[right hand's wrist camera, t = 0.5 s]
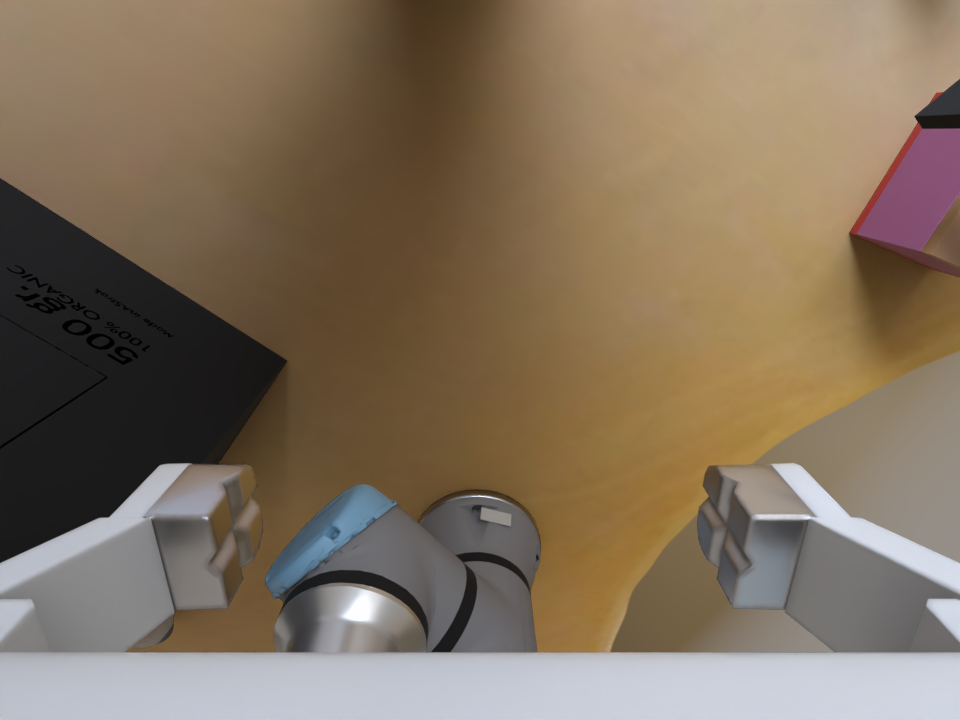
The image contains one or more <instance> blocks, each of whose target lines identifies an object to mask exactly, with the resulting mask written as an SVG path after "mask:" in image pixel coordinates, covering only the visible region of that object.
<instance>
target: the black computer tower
mask: <svg viewBox="0 0 960 720" xmlns="http://www.w3.org/2000/svg"><path fill="white" fill-rule="evenodd" d="M34 277H37V278H34ZM46 283H48V285H46ZM50 285H51V287H49V286H50ZM53 289H54V290H53ZM57 291H58V292H57ZM18 294H19V297H17V295H18ZM65 295H66V296H67V297H66V296H65ZM23 296H25V298H27V297H32V298H30V299H27V300H28V301H26V299H25V298H24V300H22V299H23V298H22V297H23ZM56 297H57V298H56ZM68 297H71V298H72V299H70V298H68ZM49 298H52V299H55V300H57V301H59V300H58V299H60V300H62V301H64V303H63V302H62V301H59V303H57V301H53V300H52V299H51V300H49ZM73 300H74V302H73ZM77 302H78V303H77ZM37 303H39V305H38V306H39V307H37V309H36V308H35V307H36V305H37ZM79 303H80V304H79ZM62 304H63V307H61V305H62ZM64 305H65V306H66V309H65V310H64ZM46 306H47V307H49V308H48V309H47V307H46ZM82 306H85V308H83V307H82ZM78 308H80V309H81V310H80V309H78ZM76 309H78V310H79V311H76ZM44 310H47V311H49V310H54V311H51V312H49V313H50V314H48V312H47V311H46V313H44ZM89 310H90V311H89ZM94 312H96V313H97V314H95V313H94ZM83 313H85V314H83ZM0 315H2V316H4V317H6V318H3V317H2V316H0V563H2V562H4V561H6V560H8V559H10V558H12V557H15V556H17V555H19V554H21V553H23V552H26V551H28V550H30V549H32V548H34V547H37V546H39V545H41V544H43V543H45V542H47V541H50V540H52V539H54V538H56V537H58V536H61V535H63V534H65V533H67V532H69V531H72V530H74V529H76V528H78V527H80V526H82V525H85V524H87V523H89V522H91V521H93V520H96V519H98V518H109V517H110V516H111V515H112V514H113V513H114V512H115V511H116V510H117V509H118V508H119V507H120V506H121V505H122V504H123V503H124V502H125V501H126V499H127V498H128V497H129V496H130V495H131V494H132V493H133V492H134V491H135V490H136V489H137V488H138V487H139V486H140V485H141V484H142V483H143V482H144V481H145V480H146V479H147V478H148V477H149V476H150V475H151V474H152V473H153V472H154V471H155V470H156V469H157V468H158V467H159V466H160V465H163V464H178V463H191V464H218V463H219V462H220V460H221V459H222V457H223V456H224V455H225V453H226V452H227V450H228V449H229V447H230V446H231V444H232V443H233V441H234V440H235V438H236V437H237V435H238V434H239V432H240V431H241V429H242V428H243V426H244V425H245V423H246V422H247V420H248V419H249V417H250V416H251V414H252V413H253V411H254V410H255V408H256V407H257V405H258V404H259V402H260V401H261V399H262V398H263V396H264V395H265V393H266V392H267V391H268V389H269V388H270V386H271V385H272V383H273V382H274V380H275V379H276V377H277V376H278V374H279V373H280V371H281V370H282V368H283V367H284V365H285V364H286V362H287V360H285V359H284V358H282V357H280V356H279V355H277V354H276V353H274V352H273V351H271V350H269V349H268V348H266V347H265V346H263V345H262V344H260V343H258V342H257V341H255V340H254V339H252V338H251V337H249V336H247V335H246V334H244V333H243V332H241V331H240V330H238V329H236V328H235V327H233V326H232V325H230V324H228V323H227V322H225V321H224V320H222V319H221V318H219V317H217V316H216V315H214V314H213V313H211V312H210V311H208V310H206V309H205V308H203V307H202V306H200V305H199V304H197V303H195V302H194V301H192V300H191V299H189V298H188V297H186V296H184V295H183V294H181V293H180V292H178V291H177V290H175V289H173V288H172V287H170V286H169V285H167V284H166V283H164V282H162V281H161V280H159V279H158V278H156V277H155V276H153V275H151V274H150V273H148V272H147V271H145V270H144V269H142V268H140V267H139V266H137V265H136V264H134V263H133V262H131V261H129V260H128V259H126V258H125V257H123V256H122V255H120V254H118V253H117V252H115V251H114V250H112V249H111V248H109V247H107V246H106V245H104V244H103V243H101V242H100V241H98V240H96V239H95V238H93V237H92V236H90V235H89V234H87V233H85V232H84V231H82V230H81V229H79V228H78V227H76V226H74V225H73V224H71V223H70V222H68V221H67V220H65V219H63V218H62V217H60V216H59V215H57V214H56V213H54V212H52V211H51V210H49V209H48V208H46V207H45V206H43V205H41V204H40V203H38V202H37V201H35V200H34V199H32V198H30V197H29V196H27V195H26V194H24V193H23V192H21V191H19V190H18V189H16V188H15V187H13V186H12V185H10V184H8V183H7V182H5V181H4V180H2V179H1V178H0ZM86 315H87V316H88V317H87V316H86ZM99 316H100V317H99ZM68 320H70V323H69V324H63V323H64V322H69V321H68ZM73 322H74V324H72V323H73ZM107 322H110V323H107ZM62 325H63V326H62ZM64 326H67V328H65V327H64ZM84 329H86V330H87V331H86V330H84ZM27 330H28V331H30V332H31V333H33V334H35V336H34V335H33V334H31V333H29V332H28V331H27ZM83 330H84V332H83V333H84V334H82V336H79V335H80V334H81V332H82V331H83ZM88 331H89V332H90V333H88ZM74 332H77V334H75V333H74ZM85 334H86V335H85ZM92 334H94V335H92ZM91 335H92V337H91V339H94V340H93V341H87V340H89V338H90V336H91ZM95 338H96V339H95ZM47 342H48V343H50V344H52V345H54V346H55V347H53V346H52V345H50V344H48V343H47ZM110 344H111V345H112V348H109V347H110ZM104 345H105V346H106V347H104ZM99 347H100V348H99ZM101 348H102V349H101ZM115 348H118V349H116V350H114V349H115ZM103 349H105V350H103ZM62 351H64V352H66V353H67V354H69V355H70V356H69V355H67V354H65V353H64V352H62ZM77 359H78V360H79V361H81V362H83V363H84V364H85V365H84V364H83V363H81V362H79V361H77ZM89 366H90V367H91V368H93V369H95V370H96V371H97V372H96V371H95V370H93V369H91V368H89ZM98 382H99V383H98Z"/></svg>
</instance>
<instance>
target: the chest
mask: <svg viewBox="0 0 960 720" xmlns="http://www.w3.org/2000/svg"><path fill="white" fill-rule="evenodd" d="M942 93H943V92H941V93H936V94H935V96H934V98H933V99H932V101H931V102H933V101H934V100H935V99H936V98H937V97H939V96H940V95H941V94H942ZM959 194H960V129H922V128H921V126H920V124H919V123H917V125H916V127H915V128H914V130H913V131H912V133H911V135H910V136H909V138H908V140H907V141H906V143H905V144H904V146H903V148H902V149H901V151H900V152H899V154H898V156H897V157H896V159H895V160H894V162H893V164H892V165H891V167H890V168H889V170H888V172H887V173H886V175H885V176H884V178H883V180H882V181H881V183H880V185H879V186H878V188H877V189H876V191H875V193H874V194H873V196H872V197H871V199H870V201H869V202H868V204H867V205H866V207H865V209H864V210H863V212H862V213H861V215H860V217H859V218H858V220H857V222H856V223H855V225H854V226H853V228H852V230H851V231H850V233H851V234H853V235H855V236H858V237H860V238H862V239H864V240H867V241H869V242H871V243H874V244H876V245H878V246H880V247H883V248H885V249H887V250H890V251H892V252H894V253H897V254H899V255H901V256H903V257H906V258H908V259H910V260H913V261H915V262H917V263H920V264H922V265H924V266H926V267H929V268H931V269H933V270H937V271H940V272H944V273H947V274H951V275H954V276H957V277H960V269H958V268H956V267H953V266H951V265H949V264H946V263H944V262H942V261H940V260H937V259H935V258H933V257H930V256H928V255H926V254H924V253H921V250H922V249H923V247H924V246H925V244H926V243H927V241H928V240H929V238H930V237H931V235H932V234H933V232H934V231H935V229H936V228H937V227H938V225H939V224H940V222H941V221H942V219H943V218H944V216H945V215H946V213H947V212H948V210H949V209H950V207H951V206H952V204H953V203H954V201H955V200H956V198H957V197H958V195H959Z"/></svg>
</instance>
